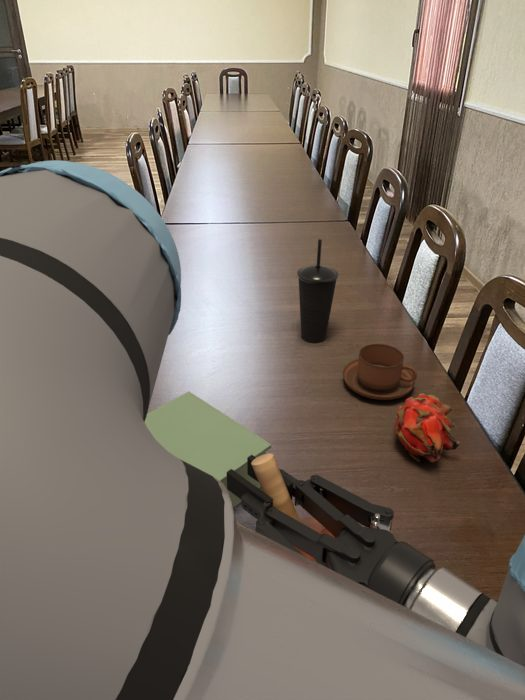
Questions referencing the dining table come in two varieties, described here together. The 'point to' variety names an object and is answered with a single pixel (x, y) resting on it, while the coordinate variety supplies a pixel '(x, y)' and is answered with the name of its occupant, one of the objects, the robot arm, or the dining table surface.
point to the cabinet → (205, 438)
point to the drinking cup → (316, 298)
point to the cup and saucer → (380, 373)
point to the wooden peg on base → (281, 492)
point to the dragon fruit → (425, 427)
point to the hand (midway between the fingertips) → (239, 471)
